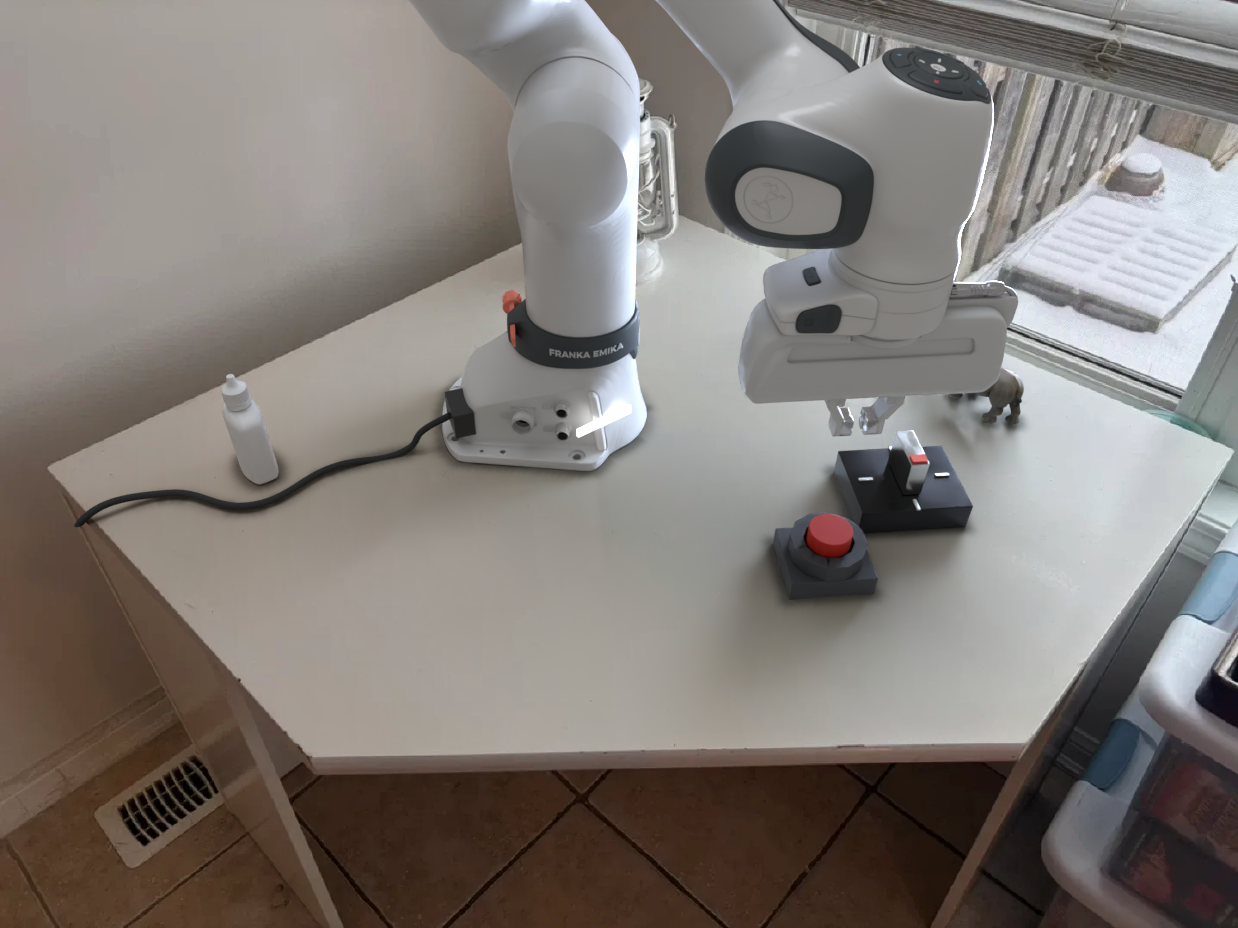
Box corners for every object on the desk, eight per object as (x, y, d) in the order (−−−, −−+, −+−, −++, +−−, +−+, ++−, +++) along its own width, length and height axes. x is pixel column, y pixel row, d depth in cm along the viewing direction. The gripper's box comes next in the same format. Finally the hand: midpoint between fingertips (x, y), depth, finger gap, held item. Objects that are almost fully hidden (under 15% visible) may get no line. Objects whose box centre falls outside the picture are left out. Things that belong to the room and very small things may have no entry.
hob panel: (857, 535, 95) (863, 512, 93) (833, 471, 102) (838, 448, 100) (966, 528, 96) (974, 505, 94) (934, 465, 103) (942, 443, 101)
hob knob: (887, 461, 99) (896, 429, 96) (904, 459, 99) (913, 428, 96) (902, 495, 95) (912, 463, 92) (920, 494, 95) (930, 462, 92)
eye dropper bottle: (285, 449, 103) (258, 357, 95) (277, 485, 99) (248, 392, 91) (242, 451, 103) (212, 359, 95) (233, 488, 99) (200, 395, 91)
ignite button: (812, 559, 88) (814, 546, 87) (801, 528, 91) (804, 514, 90) (855, 557, 88) (858, 544, 87) (843, 525, 91) (846, 512, 90)
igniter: (788, 600, 89) (794, 571, 86) (772, 543, 94) (777, 514, 91) (874, 594, 90) (882, 565, 87) (853, 538, 95) (860, 509, 92)
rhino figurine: (933, 358, 117) (945, 316, 113) (1025, 421, 108) (1041, 378, 104) (908, 369, 115) (920, 327, 111) (999, 434, 107) (1015, 391, 103)
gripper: (1008, 258, 74) (962, 400, 83) (743, 269, 73) (727, 412, 82) (1042, 304, 69) (990, 449, 79) (760, 317, 68) (741, 463, 77)
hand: (854, 430), depth 80 cm, fingers closed
